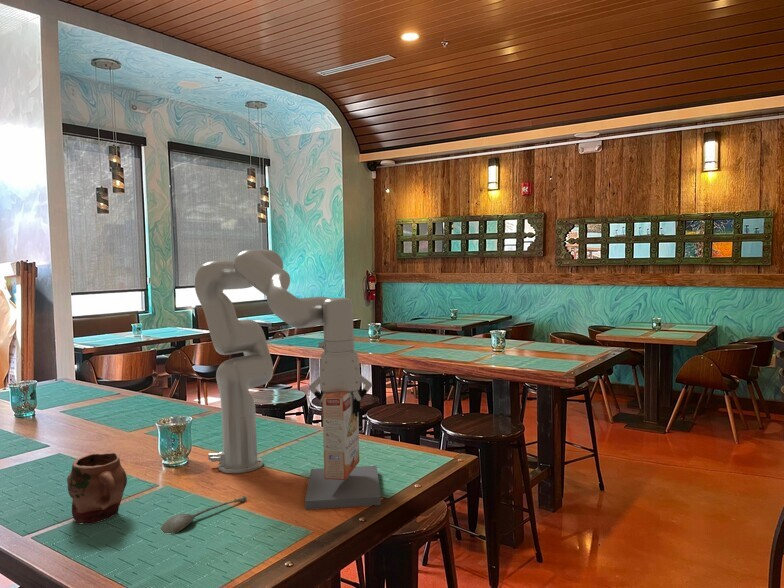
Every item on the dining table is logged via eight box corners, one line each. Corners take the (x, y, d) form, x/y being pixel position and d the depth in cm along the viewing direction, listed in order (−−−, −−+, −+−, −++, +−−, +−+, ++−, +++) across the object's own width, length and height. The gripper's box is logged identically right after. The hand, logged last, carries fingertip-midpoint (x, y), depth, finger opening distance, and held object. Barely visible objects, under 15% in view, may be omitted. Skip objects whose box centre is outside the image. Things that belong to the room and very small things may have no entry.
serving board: (305, 509, 139) (304, 501, 139) (311, 476, 161) (310, 468, 161) (381, 505, 140) (380, 496, 140) (376, 472, 162) (376, 465, 162)
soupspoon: (154, 533, 131) (169, 543, 127) (153, 519, 131) (168, 528, 127) (238, 498, 148) (253, 506, 143) (237, 485, 147) (253, 493, 143)
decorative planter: (146, 519, 136) (143, 460, 136) (92, 539, 127) (89, 475, 126) (105, 499, 149) (102, 445, 148) (54, 516, 139) (50, 458, 139)
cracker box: (347, 481, 143) (344, 396, 142) (323, 480, 144) (320, 395, 143) (361, 461, 157) (358, 384, 156) (339, 461, 158) (336, 384, 157)
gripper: (303, 350, 145) (306, 421, 145) (374, 347, 146) (376, 418, 147) (305, 346, 152) (308, 414, 153) (372, 343, 153) (374, 410, 154)
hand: (341, 415), depth 150 cm, fingers closed on cracker box, 7 cm apart
